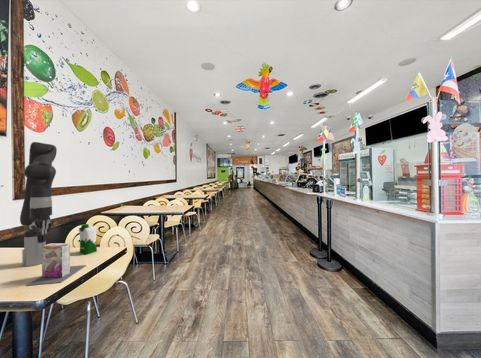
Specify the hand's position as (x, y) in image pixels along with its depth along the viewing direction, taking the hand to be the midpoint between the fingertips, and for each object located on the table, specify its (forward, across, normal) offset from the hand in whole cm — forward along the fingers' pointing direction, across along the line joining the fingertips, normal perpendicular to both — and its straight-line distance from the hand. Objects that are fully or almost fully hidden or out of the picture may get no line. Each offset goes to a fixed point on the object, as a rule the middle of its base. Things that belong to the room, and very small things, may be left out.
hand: (41, 242), depth 95 cm
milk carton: (+21, -46, -5) cm, 51 cm away
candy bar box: (+20, -9, 0) cm, 22 cm away
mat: (+21, -11, 0) cm, 23 cm away
